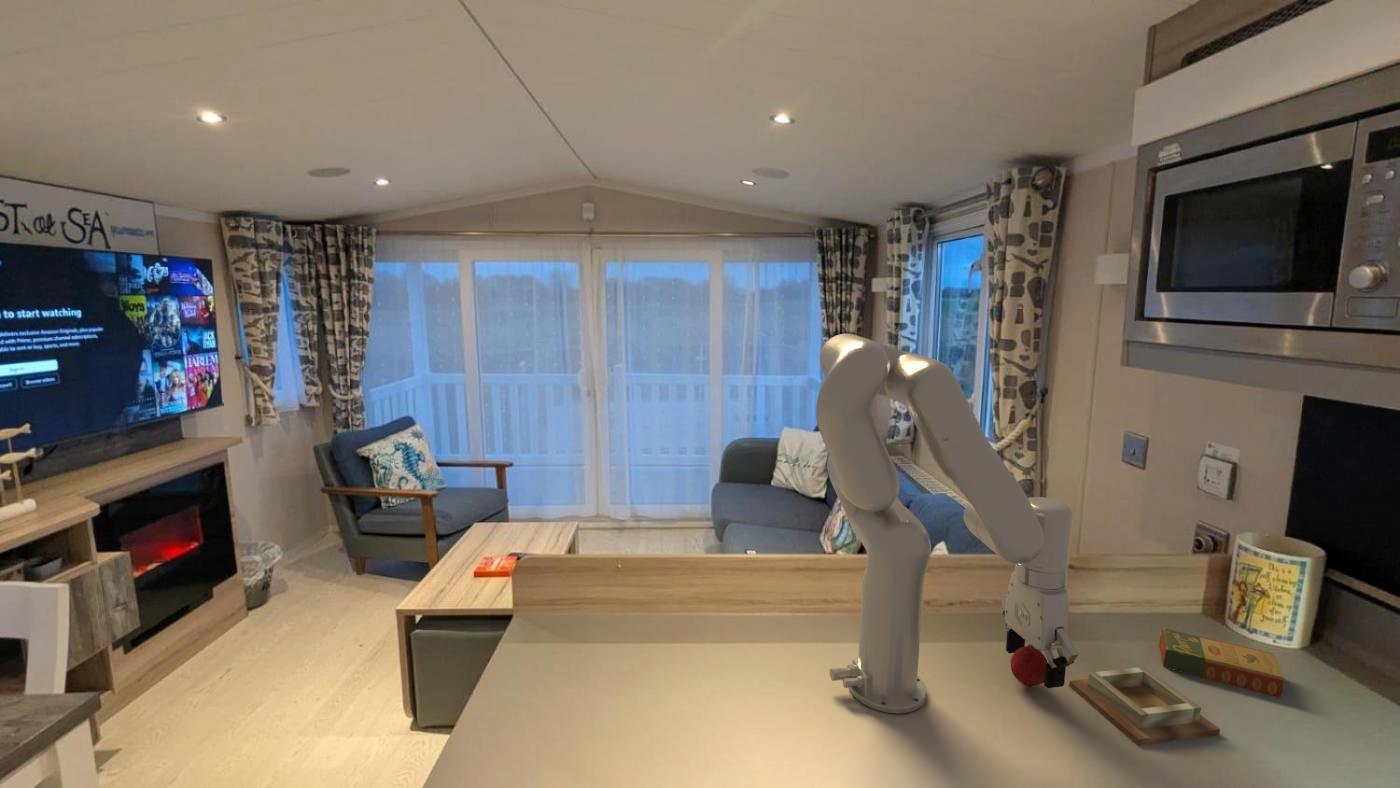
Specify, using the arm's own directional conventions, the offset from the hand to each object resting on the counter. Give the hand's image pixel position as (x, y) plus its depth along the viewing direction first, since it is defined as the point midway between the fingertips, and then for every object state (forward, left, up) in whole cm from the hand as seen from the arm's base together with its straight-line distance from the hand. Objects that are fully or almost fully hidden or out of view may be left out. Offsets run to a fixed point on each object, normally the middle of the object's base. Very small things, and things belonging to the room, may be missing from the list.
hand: (1033, 668), depth 106 cm
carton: (+35, -1, -4) cm, 35 cm away
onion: (-1, 0, -4) cm, 4 cm away
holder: (+13, -8, -3) cm, 16 cm away
